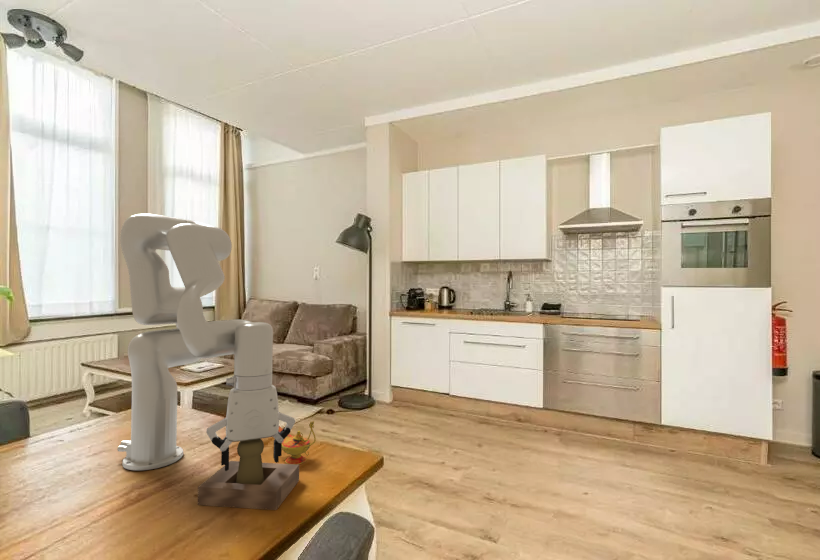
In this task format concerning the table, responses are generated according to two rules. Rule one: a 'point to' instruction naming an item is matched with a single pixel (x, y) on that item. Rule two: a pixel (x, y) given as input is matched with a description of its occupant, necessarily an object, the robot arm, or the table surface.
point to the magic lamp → (297, 446)
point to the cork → (250, 462)
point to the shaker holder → (249, 487)
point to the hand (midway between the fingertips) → (251, 464)
